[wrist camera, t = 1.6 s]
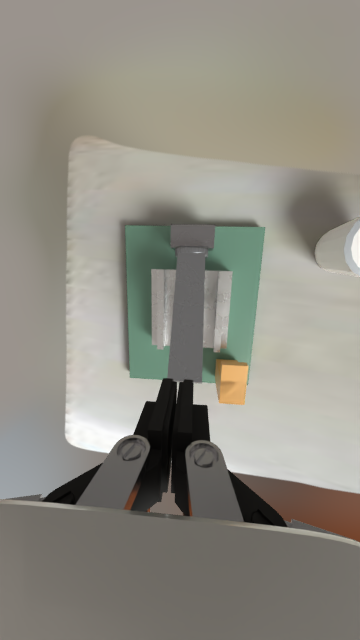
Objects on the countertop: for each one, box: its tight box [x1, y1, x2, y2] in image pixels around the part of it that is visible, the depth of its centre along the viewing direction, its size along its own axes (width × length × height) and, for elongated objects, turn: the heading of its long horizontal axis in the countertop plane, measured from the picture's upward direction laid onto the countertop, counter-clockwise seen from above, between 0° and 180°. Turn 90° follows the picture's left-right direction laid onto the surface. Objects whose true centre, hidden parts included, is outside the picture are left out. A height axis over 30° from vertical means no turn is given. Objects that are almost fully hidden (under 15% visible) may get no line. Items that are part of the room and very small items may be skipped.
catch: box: [215, 359, 248, 405], centre depth 28 cm, size 3×5×6 cm, turn 178°
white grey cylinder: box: [314, 217, 360, 277], centre depth 25 cm, size 7×7×7 cm
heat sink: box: [151, 224, 233, 353], centre depth 27 cm, size 10×15×4 cm, turn 179°
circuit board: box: [125, 225, 265, 385], centre depth 31 cm, size 18×22×2 cm
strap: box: [167, 246, 208, 384], centre depth 21 cm, size 15×4×1 cm
